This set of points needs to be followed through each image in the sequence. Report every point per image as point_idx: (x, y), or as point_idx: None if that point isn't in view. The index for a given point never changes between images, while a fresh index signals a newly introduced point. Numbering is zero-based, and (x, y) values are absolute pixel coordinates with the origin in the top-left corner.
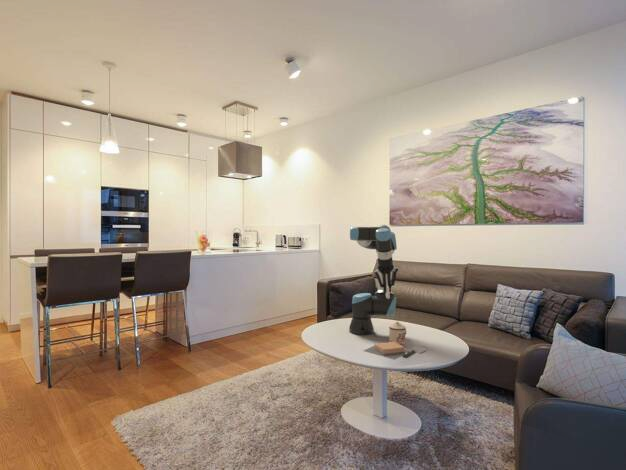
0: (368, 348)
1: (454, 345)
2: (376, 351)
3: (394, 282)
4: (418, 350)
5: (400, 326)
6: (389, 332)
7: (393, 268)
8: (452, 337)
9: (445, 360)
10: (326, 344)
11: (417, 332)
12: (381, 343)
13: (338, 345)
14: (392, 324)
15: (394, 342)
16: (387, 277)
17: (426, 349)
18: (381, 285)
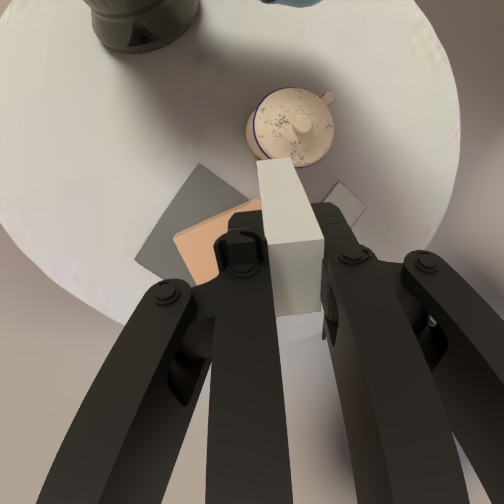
0: (152, 233)
1: (443, 163)
2: (181, 260)
3: (439, 353)
4: None
5: (310, 149)
6: (251, 127)
7: None
8: (454, 90)
9: None
10: (19, 201)
11: (371, 21)
12: (201, 229)
13: (52, 203)
14: (275, 109)
15: (257, 209)
16: (370, 463)
17: (362, 211)
18: (184, 370)
